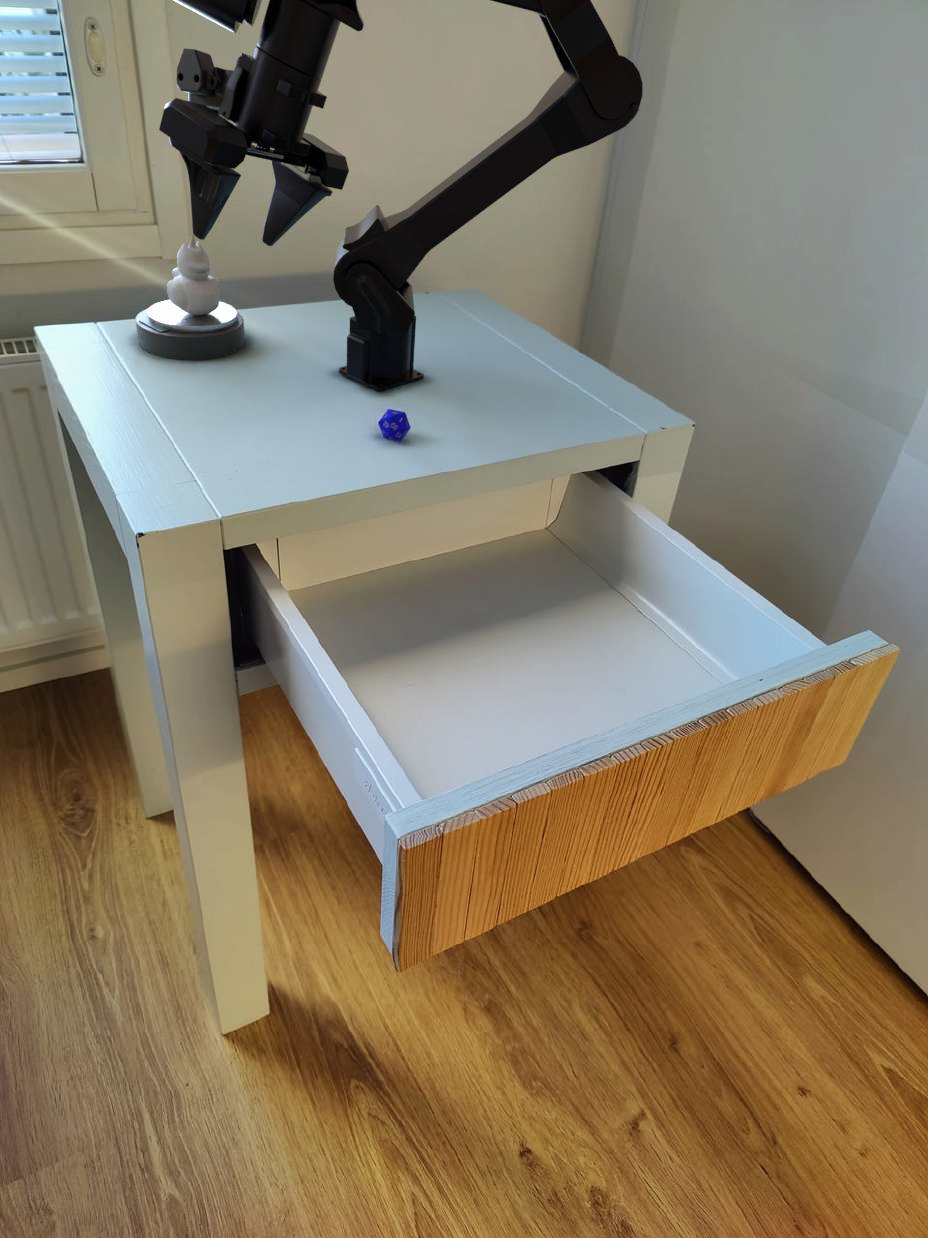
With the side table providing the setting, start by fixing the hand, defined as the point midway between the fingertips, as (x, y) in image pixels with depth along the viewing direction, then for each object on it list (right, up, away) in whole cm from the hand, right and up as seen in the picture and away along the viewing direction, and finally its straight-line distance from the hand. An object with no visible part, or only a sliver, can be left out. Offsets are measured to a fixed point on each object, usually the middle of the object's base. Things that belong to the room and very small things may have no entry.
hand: (233, 240), depth 81 cm
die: (+15, -19, -2) cm, 24 cm away
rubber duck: (-7, -3, +11) cm, 13 cm away
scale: (-8, -5, +12) cm, 16 cm away
